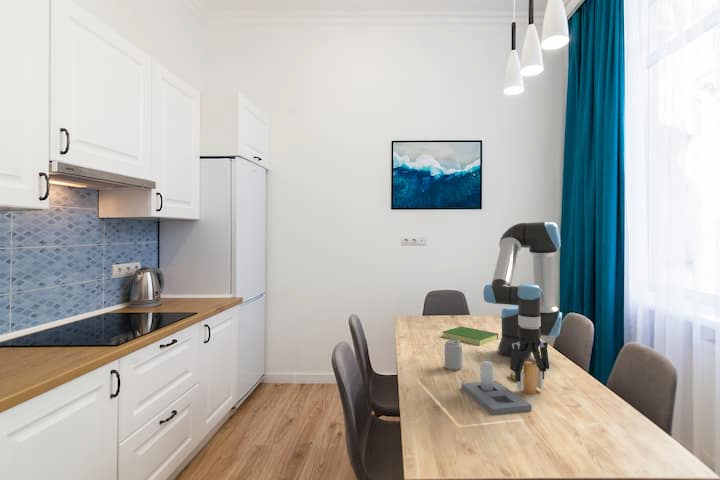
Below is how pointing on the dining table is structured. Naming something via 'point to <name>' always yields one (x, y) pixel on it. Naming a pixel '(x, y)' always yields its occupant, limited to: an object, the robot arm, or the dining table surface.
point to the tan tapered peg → (529, 377)
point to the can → (453, 355)
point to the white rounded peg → (486, 376)
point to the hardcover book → (470, 335)
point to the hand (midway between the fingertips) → (529, 388)
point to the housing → (497, 398)
